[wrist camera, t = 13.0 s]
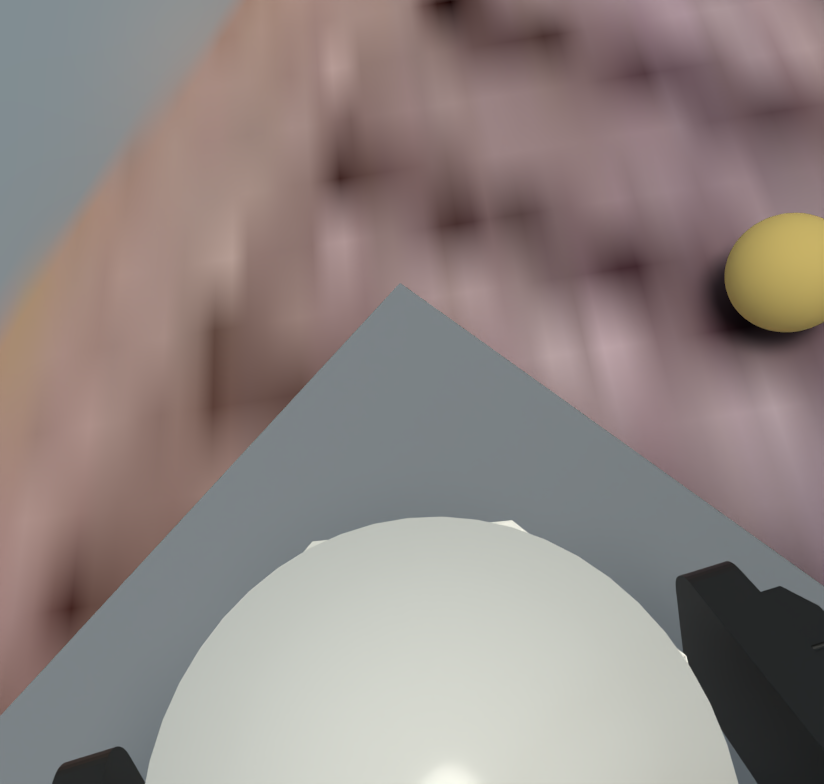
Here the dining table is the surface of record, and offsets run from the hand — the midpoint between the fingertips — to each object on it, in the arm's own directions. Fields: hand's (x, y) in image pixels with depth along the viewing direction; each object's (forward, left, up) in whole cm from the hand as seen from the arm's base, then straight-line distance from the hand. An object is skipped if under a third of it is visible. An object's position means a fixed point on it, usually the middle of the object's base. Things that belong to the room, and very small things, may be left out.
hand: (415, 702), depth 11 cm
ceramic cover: (0, +1, -7) cm, 7 cm away
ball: (-14, +1, -7) cm, 15 cm away
